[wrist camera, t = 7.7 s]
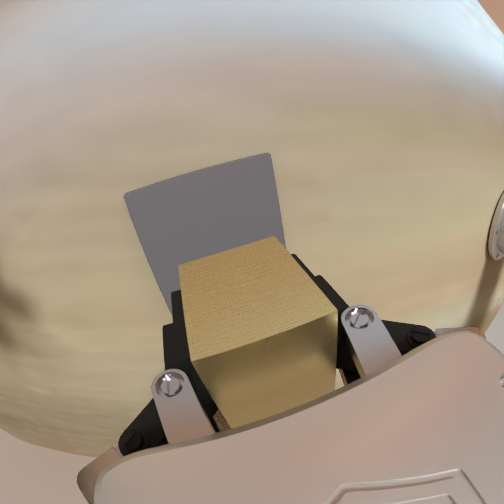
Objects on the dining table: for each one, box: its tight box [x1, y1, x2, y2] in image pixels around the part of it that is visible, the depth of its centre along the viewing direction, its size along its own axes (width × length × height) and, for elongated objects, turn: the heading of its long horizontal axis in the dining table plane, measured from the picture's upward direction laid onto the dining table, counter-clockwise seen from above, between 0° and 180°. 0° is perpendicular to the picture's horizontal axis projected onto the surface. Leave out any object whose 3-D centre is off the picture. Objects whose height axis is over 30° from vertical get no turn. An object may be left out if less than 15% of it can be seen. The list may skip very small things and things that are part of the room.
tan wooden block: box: [178, 236, 338, 428], centre depth 10 cm, size 4×5×5 cm
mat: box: [124, 153, 286, 314], centre depth 18 cm, size 9×9×1 cm
